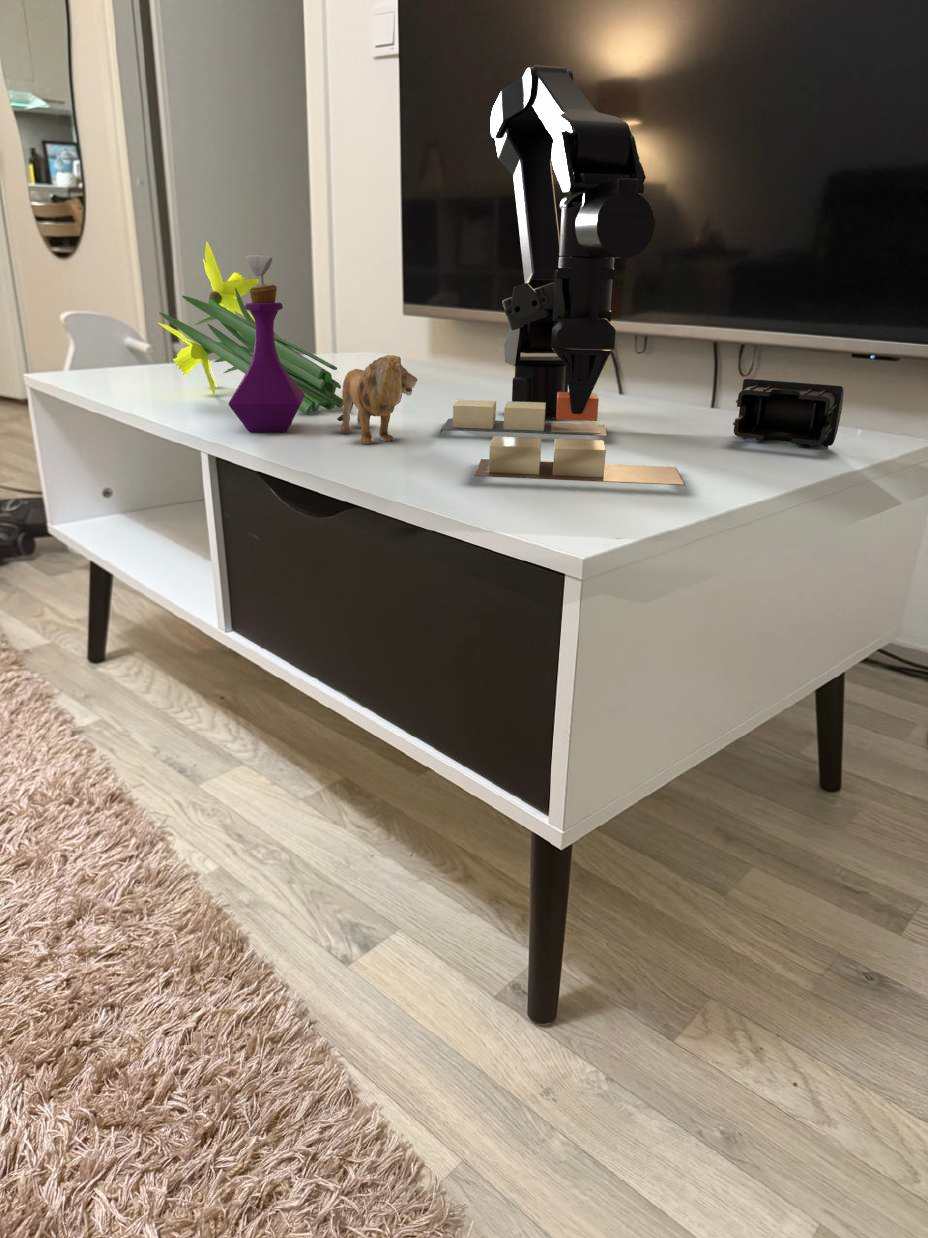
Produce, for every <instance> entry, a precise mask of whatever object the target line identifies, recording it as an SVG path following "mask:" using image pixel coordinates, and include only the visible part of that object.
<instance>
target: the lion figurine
mask: <svg viewBox="0 0 928 1238" xmlns="http://www.w3.org/2000/svg"><path fill="white" fill-rule="evenodd" d="M343 379H344V380H343V383H342V390H341V391H342V392H341V394H342V396H341V398H342V399H343V406H342V407H343V414H341V415H339V416H338V417H337V418H336V420H337V421H338V422H342V424H341V427H340V428H339V431H340V433H342V434H347V433H351V431H352V429H351V426H350V422H351V421H350V420H351V412H352V410H353V407H356V409H357V418H356V420H357V421H356V422H357V423H356V424H357V426H358V427H359V428H360V432H361V437H360V439H359V441H360V444H363V445H370V444H372V443H373V440H372V439H373V435H372V433H371V430H370V429H371V428H370V420H371V416H373V417H380V426H379V431H378V435H379V439H380V440H381V441H384V442H391V441H393V440H394V436H393V435H391V434H389V431H388V430H389V424H390V420H391V414H393V412H394V410H395V407H396V406H397V405H398V404H401V401H402V399H403V394H405V395H406V396H411V395H412V394H413V389H414V388H415V386H416V384H417V382H418V378H417V377H416V376H414V375H413V374H411V373H410V372H409V371H408V370H407V368H405V367H404V366H403V364H402V357H400V356H398V355H394V354H386V355H384V356H381V357H379V358H377V359H374V360H373V361H372V362H371V363H369V364H368V365H367V366H366V367H365V368H364V370H363V369H360V368H353V369H352V370H349V371H348V372H347V373H346V374H345V376H344V378H343Z"/></svg>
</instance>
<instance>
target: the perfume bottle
mask: <svg viewBox="0 0 928 1238" xmlns="http://www.w3.org/2000/svg"><path fill="white" fill-rule="evenodd" d="M244 257H245V259H246V261H247V263H248V265H249V267H250V269H251V271H252V272H253V274H254V275H255V276H256V277H257V278H259V277H260V284H256V285H255V286H253V287H251V289H250V290H249V291H248V292H249V295H250V299H251V301H249V302H246V303H244V306H245V309H246V310H247V311H249V313H250V314H251V315H252V316H253V318H254V320H255V321H254V322H255V325H256V340H255V348H254V353H253V354H252V355H253V357H252V361H251V363H250V365H249V367H248V369H247V371H246V373H244V375H243V377H242V379H241V381H240V382H239V384H238V386H237V388H236V389H235V391H234V393H233V395H232V396H231V398H230V399H229V401H228V406H229V408H230V409H231V410H232V412H233V413H234V414H235V415H236V417H237V419H238V420H239V421H240V422H241V423H242V425H243V426H244V427H245V429H246V430H247V431H248V432H249V433H286V432H288V431H289V429H290V427H291V425H292V424H293V421H294V419H295V416H296V415H297V413H298V411H299V407H300V405H301V403H302V401H303V398H304V396H305V394H304V393H303V392H302V390H301V389H300V388H299V387H298V386H297V384H296V383H295V382H294V381H293V380H292V379H291V377H290V376H289V375H288V373H287V372H286V370H285V369H284V367H283V366H282V364H281V363H280V360H279V358H278V355H277V352H276V347H275V342H274V332H275V331H274V326H275V320H276V318H277V317H276V316H277V315H278V312H279V311H281V310H283V308H284V306H283V303H282V302H280V301H279V302H278V301H276V299H277V298H276V297H277V291H278V287H277V285H275V284H274V283H264V282H265V281H264V277H265V274H266V273H267V272H268V270H269V269H270V268H271V265H272V262H273V256H271V255H270V256H269V255H262V254H254V255H245V256H244Z"/></svg>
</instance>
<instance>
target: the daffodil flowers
mask: <svg viewBox="0 0 928 1238" xmlns="http://www.w3.org/2000/svg"><path fill="white" fill-rule="evenodd" d="M204 258H205V259H204ZM204 258H203V257H202V261H203V265H204V271H205V275H206V276H207V278H208V280H209V282H210V287H211V289H212V291H211V292H209V295H208V303H207V302H205V301H202V300H199V299H197V298H193V297H190V296H187V295H182V296H181V297H182V298H183V299H184V300H185V301H187V302H188V303H189V304H191V305H193V306H194V307H195V308H197V309H199V310H200V311H202V312H203V313H205V314H206V315H208V316H207V317H204V318H202V319H201V320H199V321H198V322H196V323H195V324H194V326H199V325H202V324H205V323H207V326H208V328H209V330H211V332H212V333H213V334H214V335H215V336H216V338H217V339H218V340H219V341H217V340H214V339H213V338H212V337H209V336H207V335H206V334H205V333H203V332H201V331H199V330H198V329H196V328H194V327H192V326H190V325H188V324H186V323H184V322H182V321H181V320H179V319H176V318H174V317H172V316H170V315H168V314H166V313H164V312H160V311H159V315H160V316H161V317H163V318H164V319H165V320H166V321H168V322H169V324H171V325H172V326H174V327H175V328H177V329H178V330H177V329H175V328H173V327H171V326H170V325H169V324H164V323H161V322H157V321H156V323H157V324H158V325H160V326H161V327H162V328H163V329H164V330H167V331H168V332H170V333H171V334H172V335H174V336H175V337H177V338H178V339H180V340H181V341H182V342H183V343H186V344H187V345H188V346H185V347H182V348H181V349H180V350H179V351H178V353H177V355H176V356H177V357H175V358H173V359H172V361H173V363H174V364H175V363H176V364H175V366H176V367H178V370H180V371H181V372H180V373H183V375H184V377H187V376H188V375H189V373H190V372H191V371H192V370H193V369H194V368H195V367H196V366H197V365H198V364H199V363H201V365H202V368H203V370H204V373H205V376H206V378H207V382H208V384H209V387H210V390H211V392H212V395H213V396H215V392H216V388H218V384H217V381H216V377H215V374H214V372H213V369H212V365H211V361H210V356H209V355H211V354H214V355H216V356H218V359H216V360H213V361H212V363H222V362H227V363H228V364H229V365H230V366H232V367H230V368H228V369H226V370H224V371H223V374H227V373H230V372H233V371H237V370H238V371H240V372H241V373H243V374H245V373H246V371H247V369H248V367H249V365H250V363H251V361H252V357H253V353H254V348H255V340H256V325H255V320H254V318H253V316H252V314H251V312H250V311H249V310H247V309H245V303H244V302H243V299H242V298H241V297H243V296H245V295H246V294H248V293H249V292H250V291H249V290H250V289H251V287H253V286H257V285H259V283H260V282H261V279H258V278H246V277H243V274H240V272H237V271H234V272H233V273H232V274H231V275H230V277H229V278H228V279H227V280H226V281H223V277H222V274H221V271H220V269H219V266H218V263H217V261H216V258H215V255H214V253H213V250H212V248H211V246H210V243H209V242H208V241H206V243H205V248H204ZM236 313H238V314H239V315H241V316H243V317H240V316H239V315H237V314H236ZM216 320H217V321H219V323H220V324H221V325H222V326H223V327H224V328H225V329H226V330H227V331H228V332H230V334H232V335H233V336H234V337H235V338H236V339H237V340H238V341H239V342H241V343H242V344H243V345H240V344H239V343H237V342H236V341H235V340H233V339H232V338H231V337H229V336H228V335H226V334H225V333H223V332H222V331H220V330H219V329H218V328H216V327H214V326H213V325H212V324H209V323H208V322H212V321H216ZM181 332H182V333H181ZM184 334H185V335H186V336H187V337H189V338H191V339H189V338H187V337H186V336H185V335H184ZM274 342H275V347H276V352H277V355H278V358H279V360H280V363H281V364H282V366H283V367H284V369H285V370H286V372H287V373H288V375H289V376H290V377H291V379H292V380H293V381H294V382H295V383H296V384H297V386H298V387H299V388H300V389H301V390H302V392H303V393H304V394H305V396H304V398H303V401H302V403H301V405H300V407H299V409H298V411H300V412H302V413H304V414H305V415H308V414H309V413H310V412H311V411H312V412H316V411H317V410H318V409H319V408H320V406H321V407H322V408H324V409H326V410H328V411H332V410H333V409H335V407H336V408H338V409H341V408H342V407H343V397H340V396H339V395H337V394H336V389H337V388H338V389H342V386H341V384H340V383H339V382H338V381H336V380H335V379H334V378H333V375H332V373H331V372H330V371H328V370H326V369H325V368H324V367H321V366H320V365H319V364H321V365H324V366H325V367H327V368H329V369H331V370H332V371H337V370H338V367H337V366H335V365H334V364H332V363H330V362H328V361H326V360H325V359H323V358H321V357H319V356H318V355H316V354H314V353H312V352H310V351H308V350H306V349H304V348H303V347H300V346H299V345H297V344H294V343H292V342H291V341H288V340H287V339H285V338H282V337H281V336H279V335H278V334H277V333H276V332H275V331H274ZM297 351H298V352H297ZM299 352H300V353H302V354H304V355H305V356H308V357H309V358H311V359H313V360H314V361H317V362H318V363H319V364H317V363H316V362H314V361H312V360H311V359H309V358H307V357H305V356H304V355H302V354H300V353H299ZM212 376H213V377H212Z"/></svg>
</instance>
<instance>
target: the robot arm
mask: <svg viewBox="0 0 928 1238" xmlns="http://www.w3.org/2000/svg"><path fill="white" fill-rule="evenodd" d="M490 136H491V138H492V139H494V141H495V148H496V153H497V159H498V161H499V162H500V163H501V164H502V165H503V166H504V168H505V169H506V170H507V171H508V172H509V174H510V175H511V176H512V178H513V186H514V196H515V206H516V214H517V216H516V217H517V223H518V232H519V242H520V244H519V245H520V254H521V261H522V270H523V271H522V272H523V280H524V283H522V284H519V285H517V286H514V287H513V288H512V293H511V296H510V297H507V298H504V299H503V300H502V301H501V302H502V307H503V309H504V313H505V316H506V319H507V322H508V325H509V329H508V332H507V334H506V338H505V341H504V344H503V348H504V349H503V351H504V353H503V354H504V362H505V363H506V364H508V365H510V366H513V367H514V376H513V377H512V383H511V385H512V388H511V401H512V402H540V403H546V409H545V421H547V420H553V419H556V414H557V396H558V392H569V394H570V402H571V411H572V413H573V414H582V412H583V410H584V408H585V406H586V404H587V402H588V399H589V397H590V395H591V393H593V391H594V388H595V387H596V385H597V382H598V381H599V378H600V376H601V373H602V372H603V370H604V367H605V365H606V362H607V361H608V359H609V357H610V355H611V353H612V351H613V350H615V346H616V345H615V344H616V334H617V333H616V331H617V329H616V328H615V327H614V326H613V324H612V323H611V322H612V310H611V308H612V307H611V306H612V295H613V283H614V282H613V281H614V280H615V271H616V270H615V269H616V268H615V259H629V258H632V257H635V256H637V255H638V254H641V252H642V251H644V250H645V249H646V248H647V246H648V245H649V244H650V242H651V240H652V238H653V235H654V231H655V227H656V219H655V218H654V217H655V216H654V212H653V209H652V207H651V204H650V203H649V202H648V201H647V199H646V198H645V197H644V196H643V194H644V191H645V184H644V183H645V180H646V178H647V177H646V174H645V171H644V167H643V164H642V161H641V159H640V155H639V153H638V148H637V142H636V139H635V136H634V135H633V132H632V129H631V126H630V125H629V124H628V122H626V121H625V120H623V119H622V118H619V117H617V116H615V115H610V114H606V113H604V112H603V113H602V112H600V111H597V110H596V109H595V108H594V106H593V105H592V104H591V102H590V101H589V100H588V99H587V97H586V96H585V94H584V93H583V92H582V89H580V88H579V86H578V85H577V83H575V81H574V74H573V71H572V70H571V69H567V67H565V66H555V65H554V66H553V65H538V64H534V65H533V66H532V67H530V66H528V67H527V68H526V69H525V71H524V73H523V75H522V77H521V78H519V79H518V80H516V81H514V82H513V83H511V84H509V85H508V86H506V87H505V88H503V89H501V90H500V93H499V94H498V96H497V98H496V101H495V103H494V105H493V107H492V110H491V115H490ZM552 168H553V169H552ZM553 171H554V173H555V176H556V180H557V181H558V184H559V186H560V189H561V191H562V193H566V194H565V196H563V197H562V198H561V201H560V203H559V209H560V210H561V213H560V214H561V216H560V230H559V221H558V212H557V204H556V196H555V195H556V194H555V186H554V177H553ZM521 354H555V355H534V356H531V355H528V356H527V355H521Z"/></svg>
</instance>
